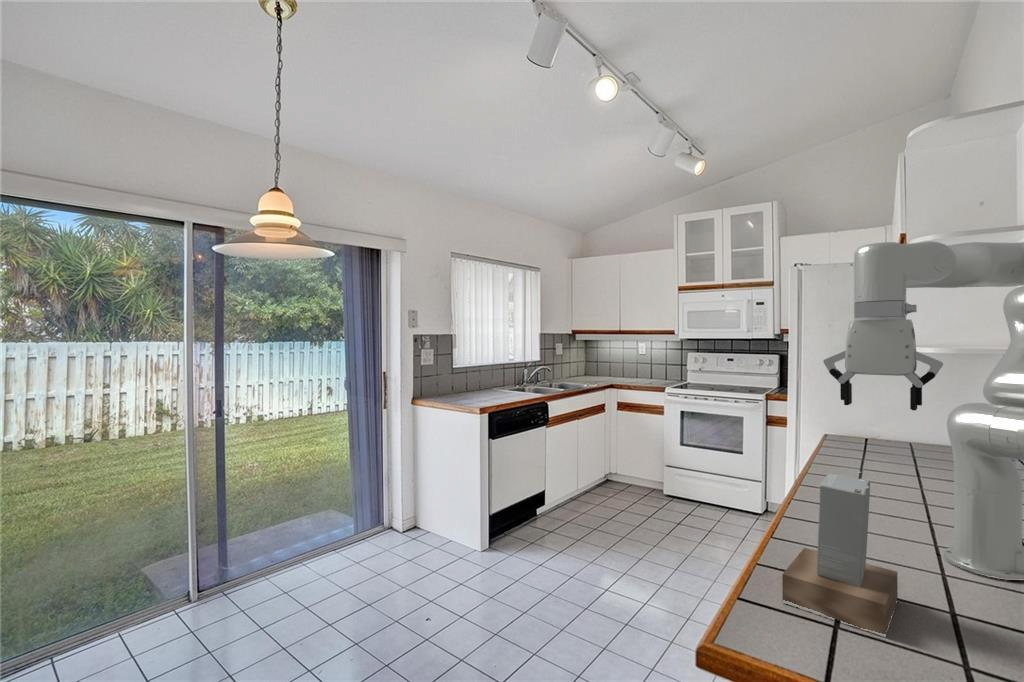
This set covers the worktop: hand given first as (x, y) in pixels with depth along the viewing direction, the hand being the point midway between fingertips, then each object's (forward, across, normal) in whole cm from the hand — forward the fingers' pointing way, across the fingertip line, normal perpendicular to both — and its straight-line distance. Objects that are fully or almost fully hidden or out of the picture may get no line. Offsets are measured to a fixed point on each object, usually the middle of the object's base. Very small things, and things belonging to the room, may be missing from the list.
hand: (879, 406), depth 89 cm
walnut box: (+32, +4, +12) cm, 35 cm away
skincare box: (+28, +4, +12) cm, 30 cm away
